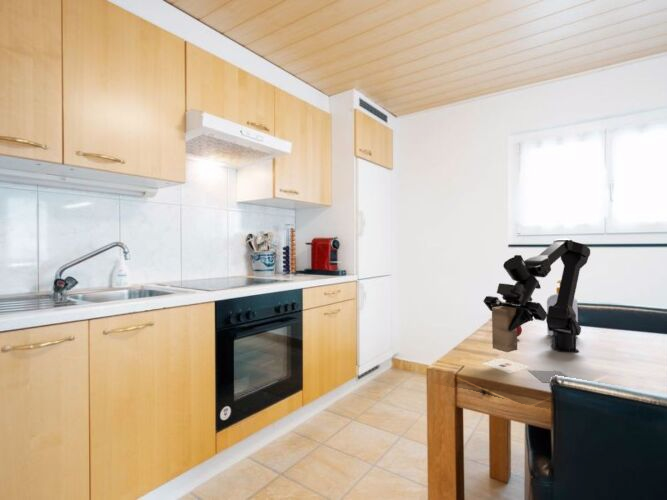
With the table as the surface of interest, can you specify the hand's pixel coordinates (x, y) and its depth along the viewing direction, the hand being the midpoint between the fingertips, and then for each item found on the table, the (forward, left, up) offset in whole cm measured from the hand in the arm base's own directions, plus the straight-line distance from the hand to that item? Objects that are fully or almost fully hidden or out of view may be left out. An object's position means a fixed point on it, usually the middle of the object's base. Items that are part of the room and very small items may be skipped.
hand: (501, 328), depth 107 cm
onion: (-16, -34, -12) cm, 40 cm away
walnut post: (-1, -1, -7) cm, 7 cm away
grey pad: (-11, +8, -12) cm, 18 cm away
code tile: (-1, -1, -12) cm, 12 cm away
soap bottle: (-37, -39, -12) cm, 55 cm away
